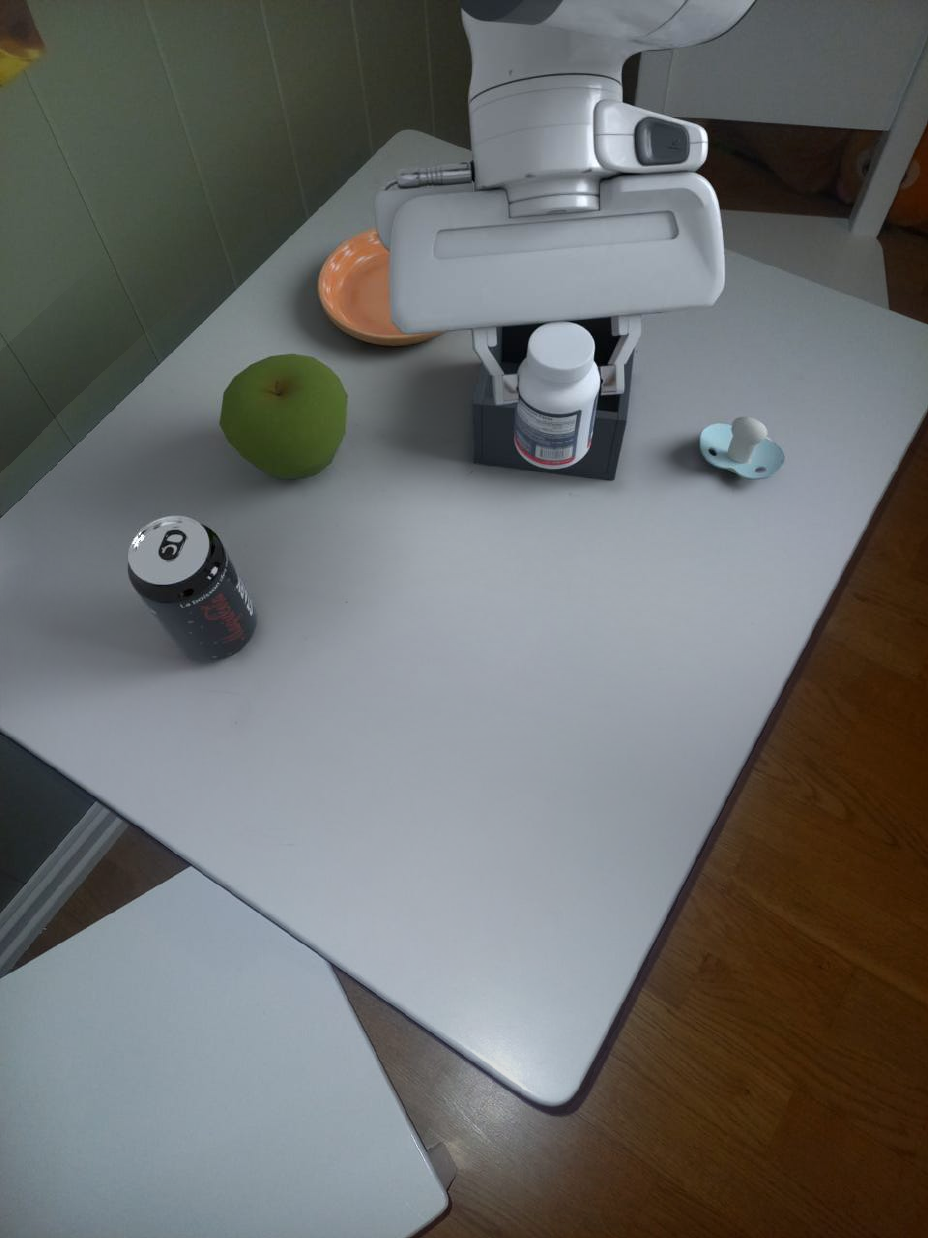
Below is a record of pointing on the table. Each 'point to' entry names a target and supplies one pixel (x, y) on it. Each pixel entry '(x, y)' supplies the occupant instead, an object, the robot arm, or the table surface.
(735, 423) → the pacifier
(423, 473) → the table surface
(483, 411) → the bin
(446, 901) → the table surface
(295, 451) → the apple
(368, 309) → the saucer
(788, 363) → the table surface
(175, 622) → the beverage can
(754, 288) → the table surface
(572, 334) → the pill bottle
